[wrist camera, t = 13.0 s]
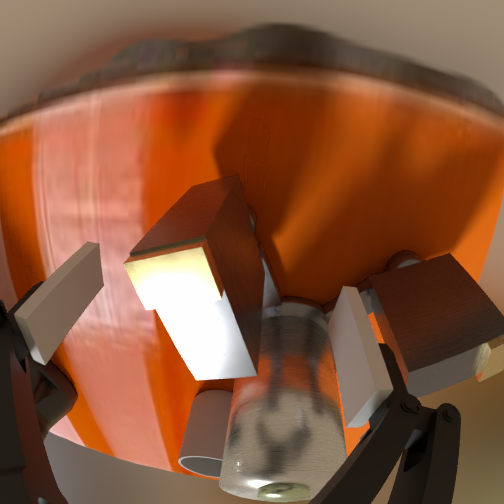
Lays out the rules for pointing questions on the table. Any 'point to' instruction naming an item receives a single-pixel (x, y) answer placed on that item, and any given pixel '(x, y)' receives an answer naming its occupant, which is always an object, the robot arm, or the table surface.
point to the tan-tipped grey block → (436, 322)
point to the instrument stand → (287, 403)
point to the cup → (206, 433)
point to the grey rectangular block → (206, 279)
